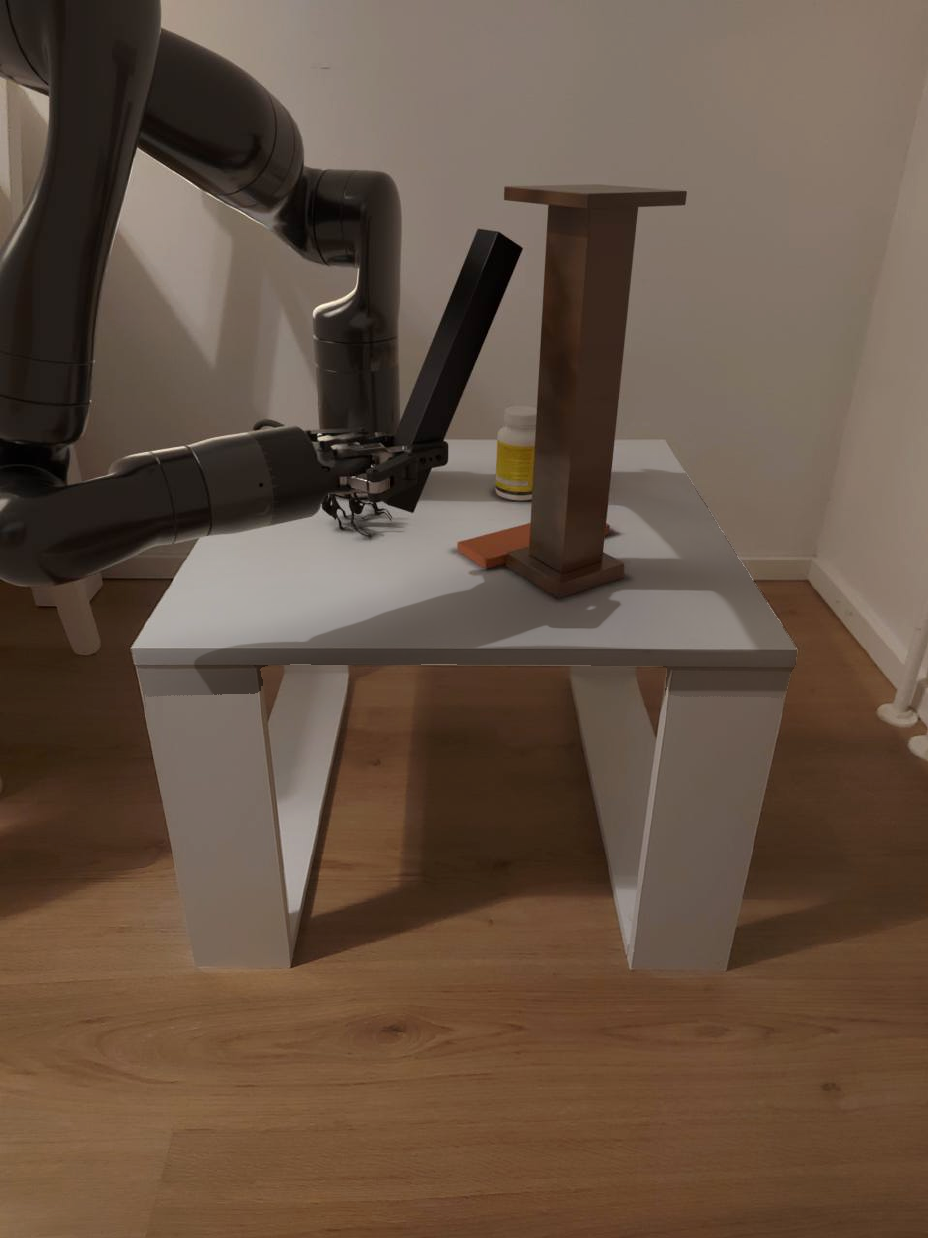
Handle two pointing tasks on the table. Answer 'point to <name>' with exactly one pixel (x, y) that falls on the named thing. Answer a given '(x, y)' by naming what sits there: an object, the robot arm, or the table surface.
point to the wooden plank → (497, 545)
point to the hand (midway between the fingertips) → (434, 446)
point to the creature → (354, 508)
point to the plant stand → (579, 377)
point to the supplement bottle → (516, 454)
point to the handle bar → (455, 349)
